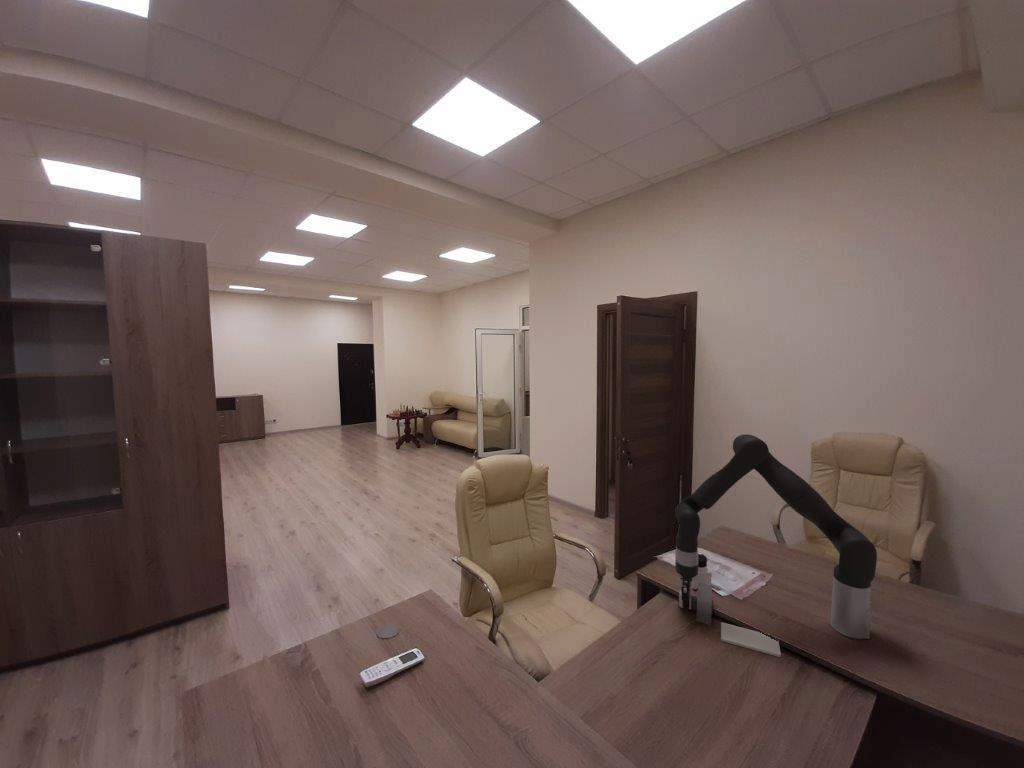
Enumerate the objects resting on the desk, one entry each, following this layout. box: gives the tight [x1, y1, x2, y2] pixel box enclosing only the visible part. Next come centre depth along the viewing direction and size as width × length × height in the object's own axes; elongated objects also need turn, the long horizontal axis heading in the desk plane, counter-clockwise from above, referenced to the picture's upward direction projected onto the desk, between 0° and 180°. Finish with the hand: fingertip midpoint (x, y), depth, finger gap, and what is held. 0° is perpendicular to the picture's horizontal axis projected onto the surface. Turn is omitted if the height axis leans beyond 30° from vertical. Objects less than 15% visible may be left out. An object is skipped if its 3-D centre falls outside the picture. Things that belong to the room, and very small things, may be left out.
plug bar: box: [678, 590, 714, 615], centre depth 143 cm, size 11×4×4 cm, turn 63°
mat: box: [720, 621, 782, 658], centre depth 127 cm, size 16×8×1 cm, turn 63°
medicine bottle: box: [691, 552, 712, 590], centre depth 156 cm, size 7×7×12 cm
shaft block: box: [695, 583, 713, 626], centre depth 141 cm, size 4×15×7 cm, turn 153°
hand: (686, 603), depth 145 cm, fingers closed on plug bar, 4 cm apart
